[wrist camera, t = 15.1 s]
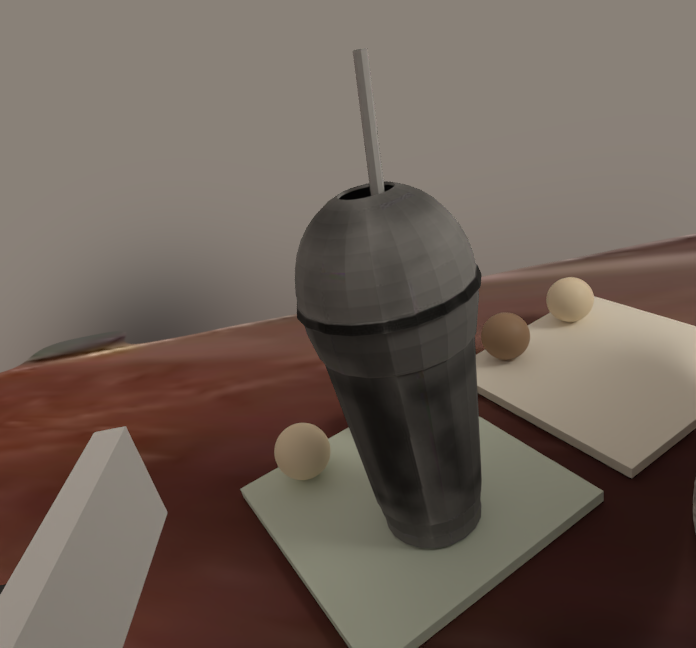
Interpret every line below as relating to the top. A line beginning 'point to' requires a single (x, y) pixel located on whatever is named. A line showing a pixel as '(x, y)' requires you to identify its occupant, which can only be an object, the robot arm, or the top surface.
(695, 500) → the disc
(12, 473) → the top surface
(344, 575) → the sage card
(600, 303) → the cream card
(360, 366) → the beverage cup
